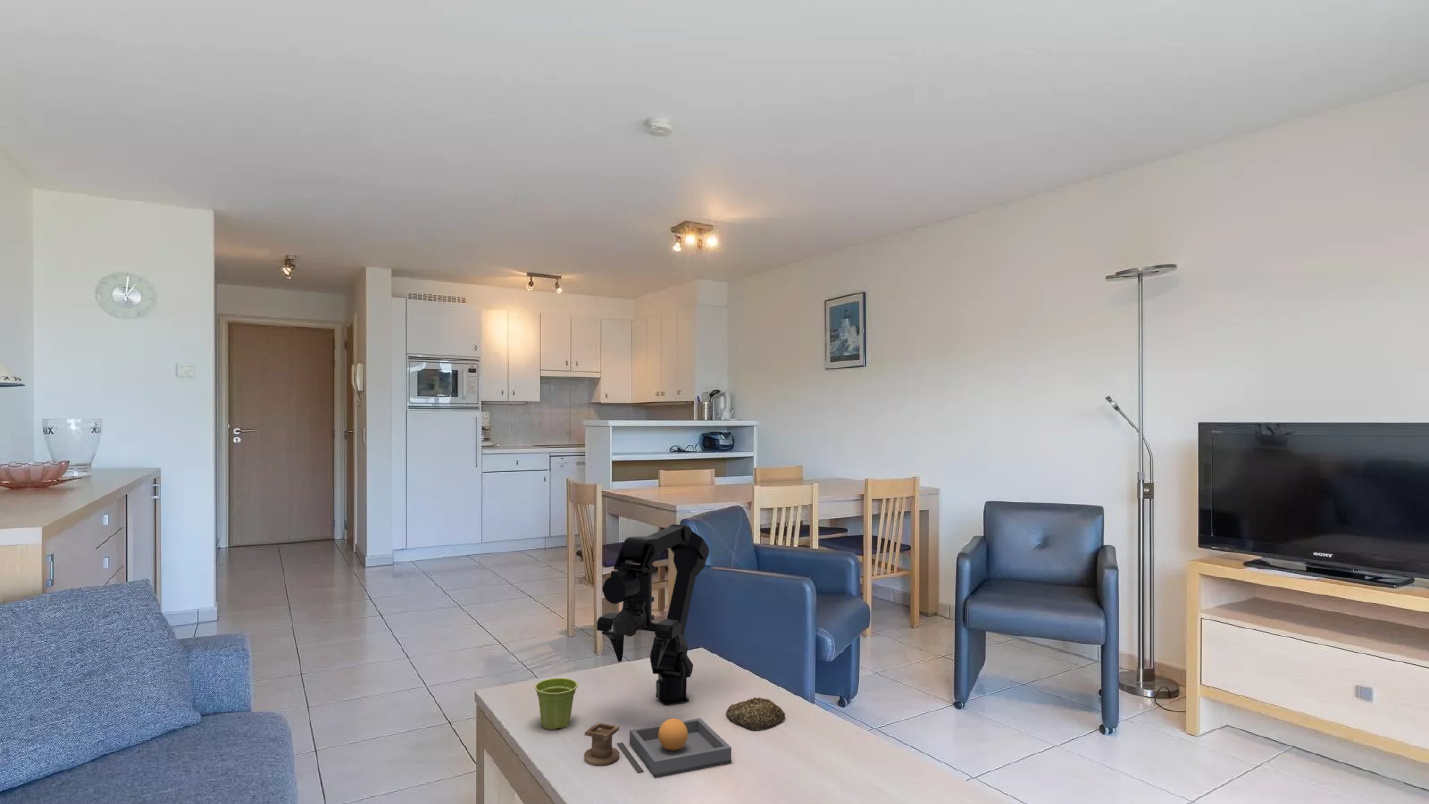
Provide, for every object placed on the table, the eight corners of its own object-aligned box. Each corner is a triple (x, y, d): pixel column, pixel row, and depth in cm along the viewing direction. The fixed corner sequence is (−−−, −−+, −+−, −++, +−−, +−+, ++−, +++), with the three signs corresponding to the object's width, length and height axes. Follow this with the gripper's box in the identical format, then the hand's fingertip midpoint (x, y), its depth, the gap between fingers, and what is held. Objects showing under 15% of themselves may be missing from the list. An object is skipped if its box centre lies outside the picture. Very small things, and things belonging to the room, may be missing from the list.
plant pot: (585, 719, 170) (585, 680, 170) (563, 736, 161) (564, 695, 161) (548, 713, 173) (549, 675, 173) (525, 729, 164) (526, 689, 164)
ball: (681, 720, 159) (665, 708, 155) (698, 734, 154) (681, 721, 151) (664, 746, 157) (647, 734, 153) (681, 760, 152) (664, 749, 149)
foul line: (622, 743, 158) (622, 742, 158) (643, 772, 145) (643, 771, 145) (616, 744, 157) (616, 743, 157) (637, 773, 144) (637, 772, 144)
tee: (595, 748, 155) (595, 720, 155) (625, 753, 153) (625, 725, 153) (577, 762, 149) (577, 733, 149) (608, 768, 146) (608, 738, 146)
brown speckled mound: (749, 735, 163) (749, 712, 163) (718, 716, 173) (718, 694, 173) (796, 723, 170) (796, 701, 170) (763, 705, 180) (763, 684, 180)
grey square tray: (700, 732, 164) (700, 718, 164) (731, 762, 149) (731, 747, 149) (629, 744, 157) (629, 729, 157) (654, 777, 143) (654, 761, 143)
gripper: (584, 598, 165) (583, 670, 165) (661, 606, 158) (660, 681, 158) (609, 587, 175) (608, 655, 175) (682, 595, 169) (682, 665, 168)
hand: (638, 664), depth 169 cm, fingers open, 9 cm apart
